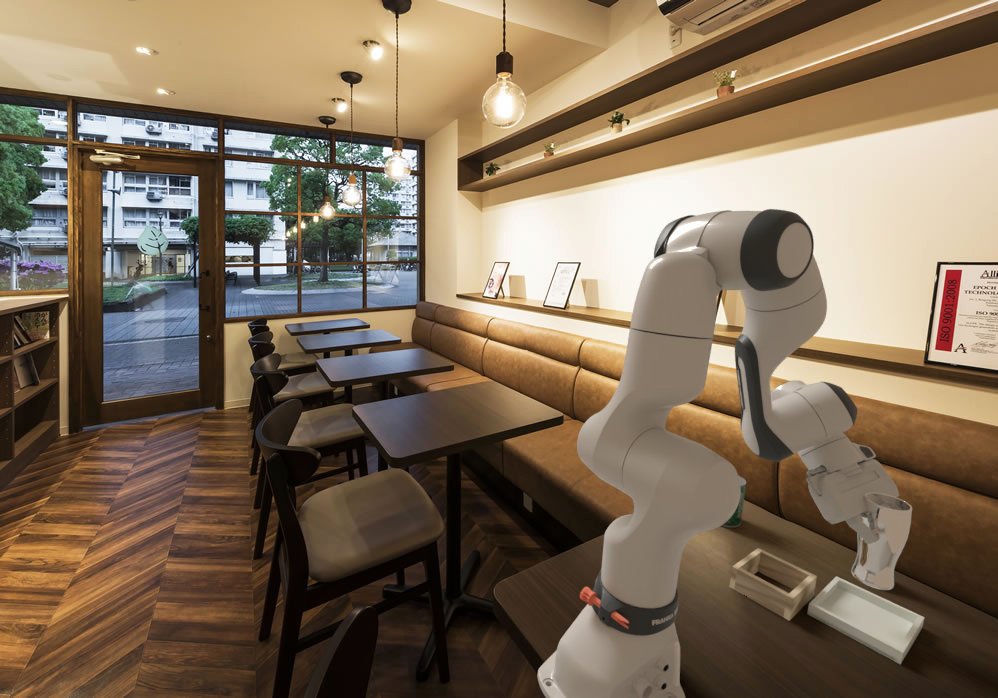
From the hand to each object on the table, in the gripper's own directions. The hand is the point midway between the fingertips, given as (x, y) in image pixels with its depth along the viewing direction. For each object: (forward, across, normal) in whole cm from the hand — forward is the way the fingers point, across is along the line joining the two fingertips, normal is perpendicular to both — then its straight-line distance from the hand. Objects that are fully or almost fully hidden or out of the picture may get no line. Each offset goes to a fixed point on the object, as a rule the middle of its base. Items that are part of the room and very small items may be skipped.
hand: (885, 536), depth 82 cm
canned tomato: (-12, +8, +37) cm, 40 cm away
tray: (+12, 0, +13) cm, 17 cm away
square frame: (+3, -8, +22) cm, 23 cm away
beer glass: (+6, 0, +7) cm, 9 cm away
